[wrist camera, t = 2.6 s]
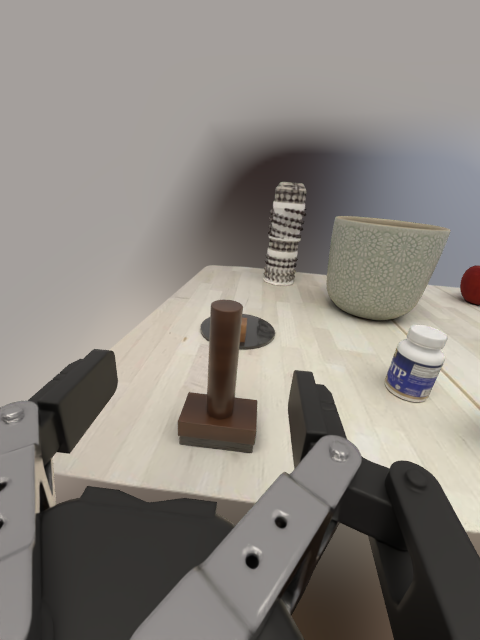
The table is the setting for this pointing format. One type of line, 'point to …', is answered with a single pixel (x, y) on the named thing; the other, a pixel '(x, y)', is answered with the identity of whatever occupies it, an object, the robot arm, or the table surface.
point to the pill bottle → (416, 363)
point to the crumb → (243, 329)
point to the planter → (381, 265)
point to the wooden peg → (220, 391)
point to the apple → (471, 285)
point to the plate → (248, 332)
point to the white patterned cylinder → (285, 233)
